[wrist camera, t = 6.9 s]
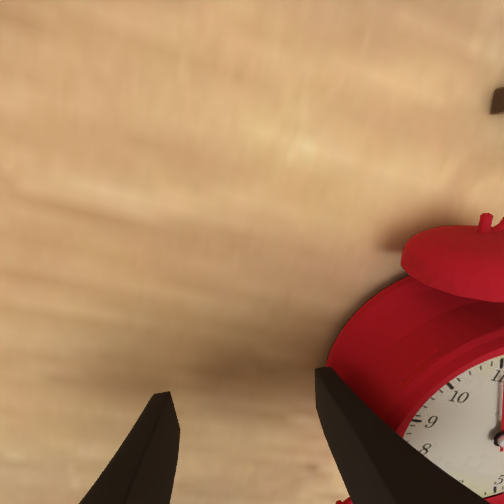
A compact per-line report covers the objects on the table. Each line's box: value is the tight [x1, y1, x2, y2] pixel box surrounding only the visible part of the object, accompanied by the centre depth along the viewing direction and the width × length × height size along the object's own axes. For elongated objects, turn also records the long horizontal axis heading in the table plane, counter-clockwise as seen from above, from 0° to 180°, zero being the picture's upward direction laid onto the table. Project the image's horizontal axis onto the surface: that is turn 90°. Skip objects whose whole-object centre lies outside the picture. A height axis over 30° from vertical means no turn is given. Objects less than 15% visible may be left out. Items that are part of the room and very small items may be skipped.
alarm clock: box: [326, 213, 504, 504], centre depth 11 cm, size 10×6×15 cm
